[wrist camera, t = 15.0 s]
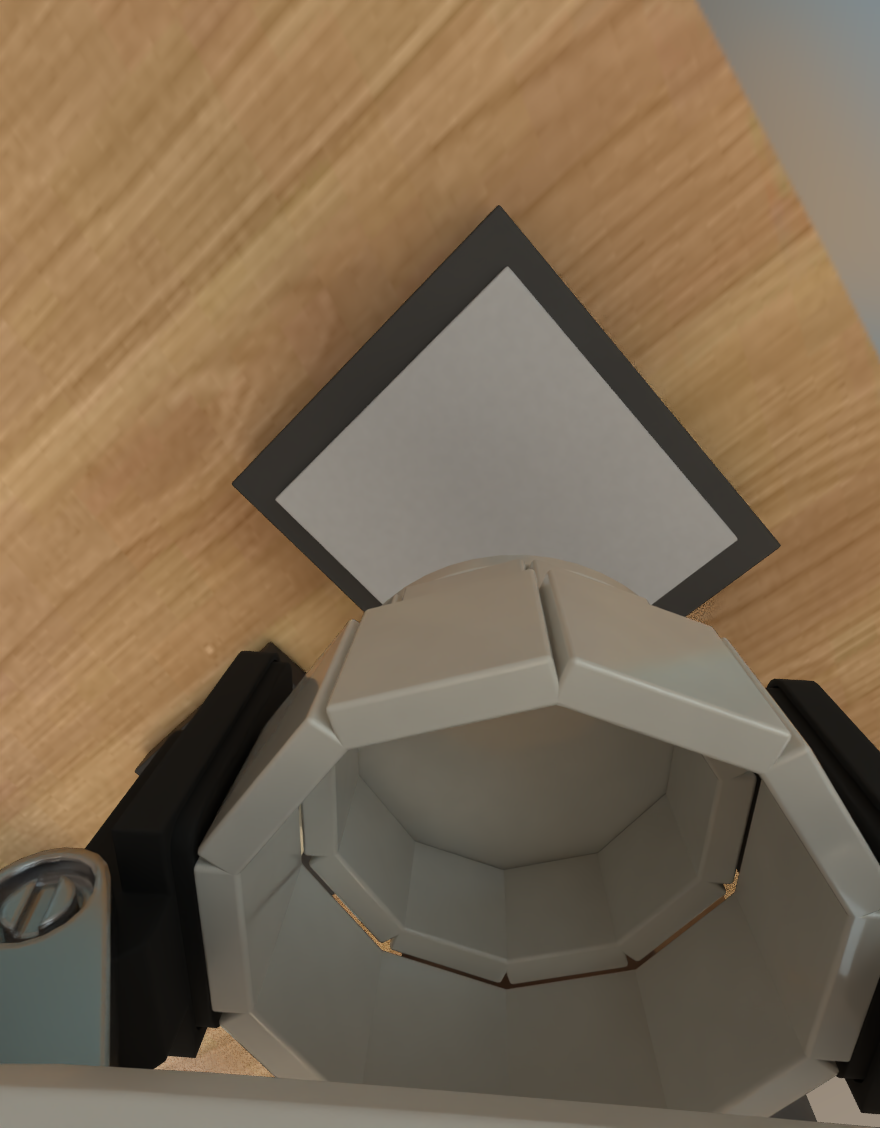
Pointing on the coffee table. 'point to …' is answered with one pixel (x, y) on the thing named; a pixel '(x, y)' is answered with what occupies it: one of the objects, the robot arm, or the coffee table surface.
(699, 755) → the bowl
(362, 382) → the scale
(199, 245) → the coffee table surface
